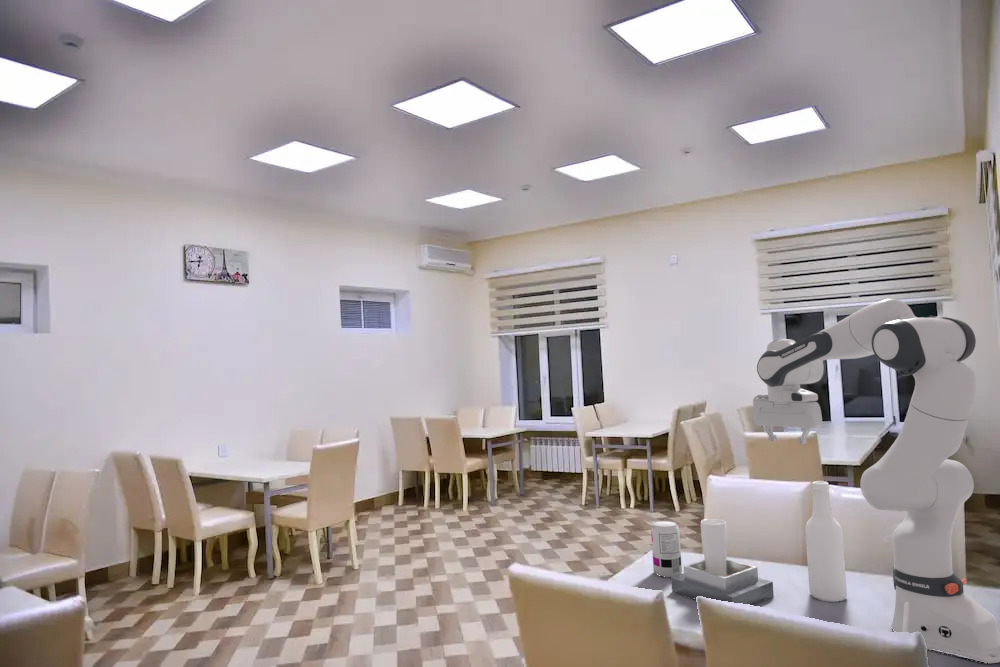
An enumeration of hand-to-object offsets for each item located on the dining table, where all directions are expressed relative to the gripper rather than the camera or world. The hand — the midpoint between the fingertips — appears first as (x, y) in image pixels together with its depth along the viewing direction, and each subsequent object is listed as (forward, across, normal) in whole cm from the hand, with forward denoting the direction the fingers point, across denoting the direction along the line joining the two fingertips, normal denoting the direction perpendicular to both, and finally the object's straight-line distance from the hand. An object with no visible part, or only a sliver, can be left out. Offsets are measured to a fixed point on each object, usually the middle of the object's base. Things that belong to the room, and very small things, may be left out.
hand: (787, 442), depth 188 cm
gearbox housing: (+39, -5, -27) cm, 48 cm away
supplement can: (+39, -26, -25) cm, 53 cm away
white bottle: (+39, +14, -8) cm, 42 cm away
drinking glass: (+35, -7, -27) cm, 44 cm away
